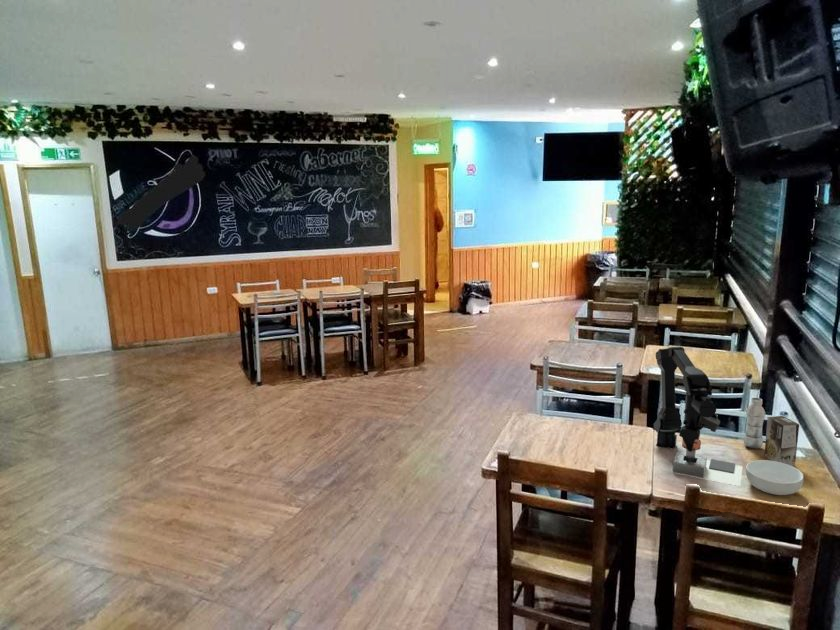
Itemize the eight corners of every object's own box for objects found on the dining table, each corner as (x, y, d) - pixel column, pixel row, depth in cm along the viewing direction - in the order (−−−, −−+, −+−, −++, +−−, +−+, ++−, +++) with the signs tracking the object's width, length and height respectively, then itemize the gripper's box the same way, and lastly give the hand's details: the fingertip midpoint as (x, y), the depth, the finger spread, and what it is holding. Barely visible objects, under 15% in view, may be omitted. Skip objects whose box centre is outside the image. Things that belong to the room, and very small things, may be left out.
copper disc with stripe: (698, 467, 208) (699, 444, 206) (679, 463, 211) (681, 440, 209) (700, 460, 213) (701, 438, 211) (682, 457, 216) (683, 434, 214)
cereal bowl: (741, 475, 209) (743, 456, 207) (796, 482, 202) (798, 463, 201) (747, 497, 193) (749, 477, 192) (806, 506, 187) (808, 486, 185)
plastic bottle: (765, 450, 227) (770, 401, 223) (748, 450, 227) (752, 402, 224) (756, 443, 234) (761, 396, 230) (739, 444, 234) (743, 396, 230)
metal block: (672, 472, 211) (673, 461, 210) (676, 461, 219) (677, 451, 218) (703, 478, 206) (704, 467, 205) (706, 466, 214) (706, 456, 213)
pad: (708, 468, 213) (709, 467, 213) (711, 460, 220) (711, 459, 219) (733, 473, 209) (733, 472, 209) (735, 464, 215) (735, 463, 215)
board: (673, 474, 210) (674, 472, 210) (680, 456, 225) (680, 454, 224) (740, 487, 200) (740, 486, 200) (742, 467, 214) (742, 466, 214)
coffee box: (796, 465, 214) (800, 424, 211) (779, 466, 214) (783, 425, 211) (779, 455, 223) (783, 415, 220) (763, 456, 223) (767, 416, 220)
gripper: (716, 419, 196) (712, 462, 199) (721, 402, 211) (718, 442, 214) (680, 414, 202) (677, 456, 205) (688, 397, 217) (685, 437, 220)
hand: (691, 447), depth 211 cm, fingers closed on copper disc with stripe, 6 cm apart
